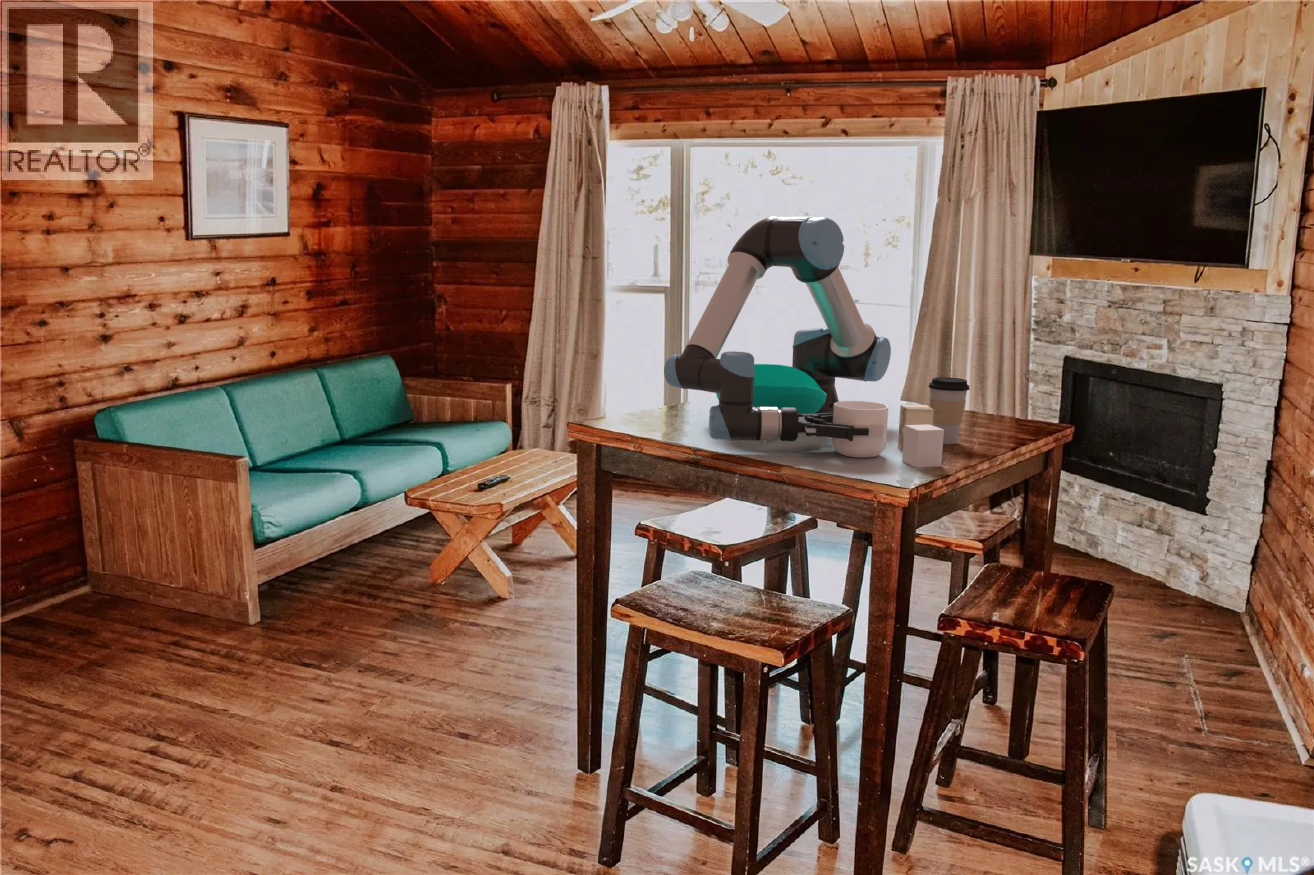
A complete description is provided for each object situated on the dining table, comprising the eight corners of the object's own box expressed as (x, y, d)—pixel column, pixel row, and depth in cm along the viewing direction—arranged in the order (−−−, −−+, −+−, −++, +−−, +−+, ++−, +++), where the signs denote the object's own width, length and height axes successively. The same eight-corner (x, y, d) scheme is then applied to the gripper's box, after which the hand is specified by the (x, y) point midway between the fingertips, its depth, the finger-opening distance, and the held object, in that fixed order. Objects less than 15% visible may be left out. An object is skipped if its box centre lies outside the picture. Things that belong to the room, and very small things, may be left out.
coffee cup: (916, 441, 247) (921, 378, 244) (937, 436, 254) (942, 375, 251) (952, 447, 240) (957, 383, 238) (972, 442, 247) (977, 380, 244)
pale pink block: (902, 461, 225) (904, 425, 224) (926, 460, 227) (929, 424, 225) (916, 467, 220) (918, 430, 218) (941, 466, 221) (944, 429, 220)
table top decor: (834, 443, 242) (837, 387, 239) (715, 440, 243) (717, 384, 240) (815, 413, 281) (818, 365, 278) (713, 410, 282) (715, 362, 279)
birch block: (897, 447, 240) (900, 404, 238) (923, 447, 240) (926, 405, 238) (904, 452, 234) (907, 409, 232) (930, 453, 234) (933, 409, 232)
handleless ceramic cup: (883, 462, 224) (886, 410, 221) (827, 457, 227) (830, 407, 225) (887, 451, 235) (890, 402, 233) (834, 447, 238) (836, 399, 236)
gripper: (771, 430, 242) (863, 432, 242) (785, 452, 218) (888, 454, 219) (773, 398, 240) (865, 400, 241) (787, 417, 217) (890, 419, 217)
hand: (876, 426), depth 230 cm, fingers closed on handleless ceramic cup, 12 cm apart
